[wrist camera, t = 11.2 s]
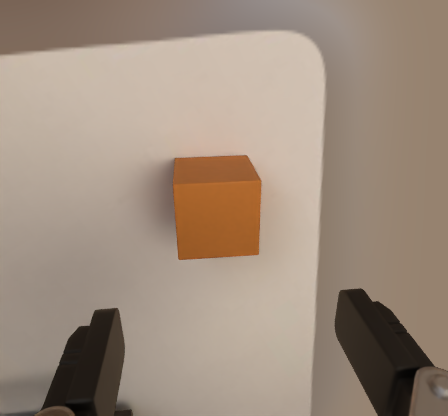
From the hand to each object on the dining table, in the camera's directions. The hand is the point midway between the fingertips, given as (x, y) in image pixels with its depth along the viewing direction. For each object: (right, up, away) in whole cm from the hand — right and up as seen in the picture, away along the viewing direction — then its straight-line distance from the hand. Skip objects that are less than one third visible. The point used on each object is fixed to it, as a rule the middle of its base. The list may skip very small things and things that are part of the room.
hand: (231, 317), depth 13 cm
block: (-1, +5, +11) cm, 12 cm away
